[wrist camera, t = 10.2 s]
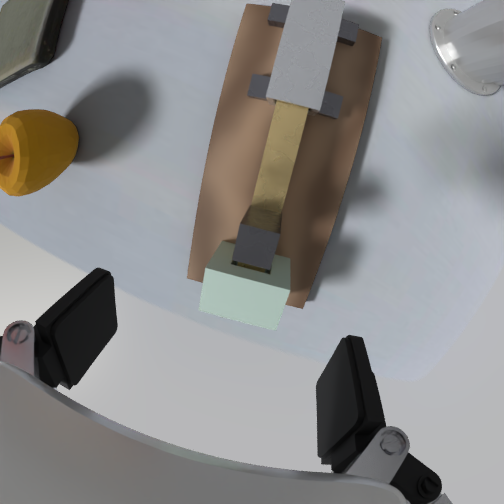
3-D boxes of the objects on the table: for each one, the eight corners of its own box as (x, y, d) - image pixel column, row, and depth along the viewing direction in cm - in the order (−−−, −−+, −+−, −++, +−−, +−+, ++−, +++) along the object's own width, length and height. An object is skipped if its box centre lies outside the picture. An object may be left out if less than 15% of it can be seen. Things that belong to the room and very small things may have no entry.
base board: (378, 41, 21) (382, 37, 20) (302, 302, 35) (302, 308, 34) (248, 8, 21) (246, 3, 20) (190, 272, 35) (187, 278, 34)
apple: (50, 187, 33) (-12, 212, 21) (40, 123, 29) (-23, 133, 17) (98, 170, 31) (27, 192, 20) (88, 96, 27) (16, 94, 15)
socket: (290, 258, 31) (290, 290, 25) (278, 294, 33) (275, 330, 27) (222, 240, 31) (205, 267, 25) (214, 277, 33) (198, 310, 27)
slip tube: (314, 83, 22) (326, 59, 14) (263, 274, 31) (255, 320, 23) (284, 75, 22) (282, 48, 14) (237, 267, 31) (220, 311, 23)
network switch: (88, -43, 16) (72, -51, 11) (68, 56, 25) (46, 52, 20) (10, 13, 19) (-5, 11, 14) (-4, 104, 28) (-22, 106, 23)
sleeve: (356, 27, 20) (368, 9, 15) (334, 122, 25) (345, 118, 20) (273, 7, 20) (270, -16, 15) (248, 100, 25) (239, 91, 20)
